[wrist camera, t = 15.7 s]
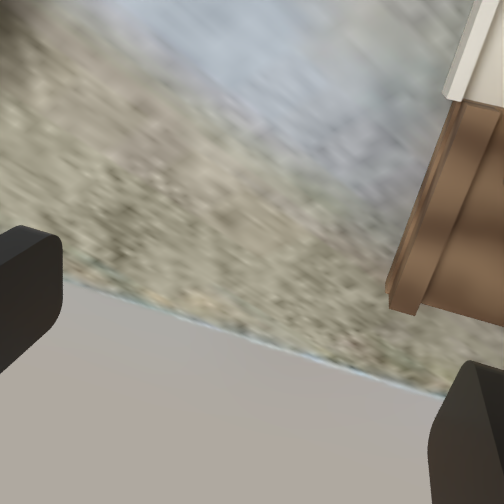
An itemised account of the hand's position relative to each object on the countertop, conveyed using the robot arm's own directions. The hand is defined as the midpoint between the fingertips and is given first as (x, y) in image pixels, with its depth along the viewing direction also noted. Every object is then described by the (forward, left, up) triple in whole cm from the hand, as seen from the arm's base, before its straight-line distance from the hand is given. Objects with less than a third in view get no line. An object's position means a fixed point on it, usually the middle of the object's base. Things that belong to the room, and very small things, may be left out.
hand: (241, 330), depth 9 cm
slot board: (+6, +14, -33) cm, 37 cm away
